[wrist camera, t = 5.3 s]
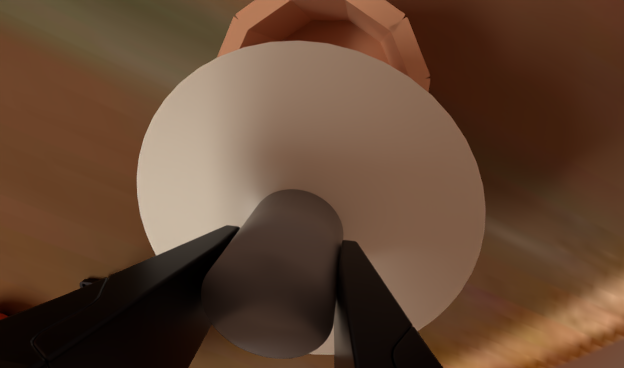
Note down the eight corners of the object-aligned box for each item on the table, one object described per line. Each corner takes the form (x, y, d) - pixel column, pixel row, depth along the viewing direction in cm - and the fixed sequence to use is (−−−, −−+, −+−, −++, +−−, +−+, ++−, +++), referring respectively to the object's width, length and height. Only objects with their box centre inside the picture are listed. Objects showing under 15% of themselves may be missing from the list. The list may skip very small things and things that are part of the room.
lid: (435, 357, 11) (470, 496, 8) (177, 314, 13) (104, 413, 9) (525, 48, 7) (697, 32, 3) (122, 37, 9) (-56, 18, 5)
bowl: (394, 167, 19) (409, 208, 13) (260, 158, 20) (223, 193, 14) (416, 8, 15) (447, -25, 10) (253, 8, 17) (202, -22, 11)
